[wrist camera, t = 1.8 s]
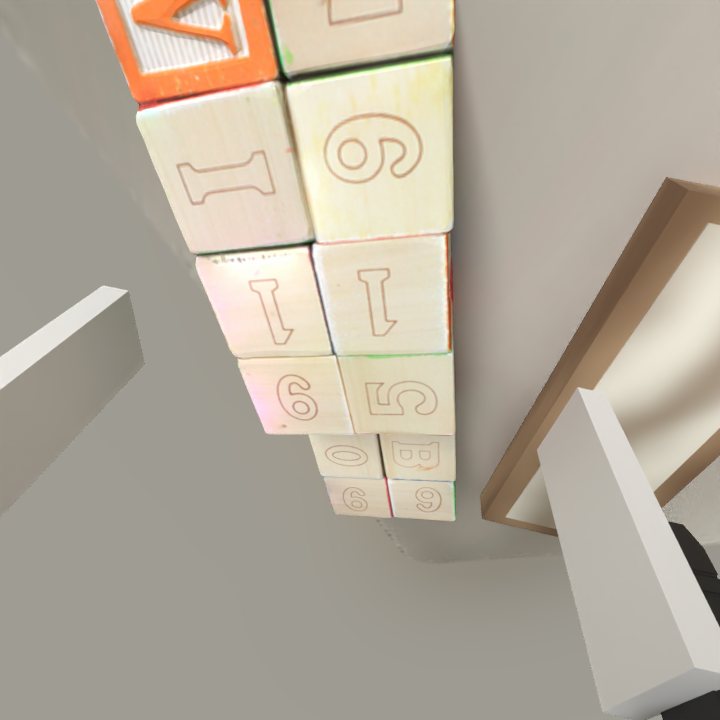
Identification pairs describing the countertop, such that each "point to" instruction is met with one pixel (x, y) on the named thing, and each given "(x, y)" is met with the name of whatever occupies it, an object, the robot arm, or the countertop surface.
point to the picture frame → (638, 360)
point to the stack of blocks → (317, 218)
